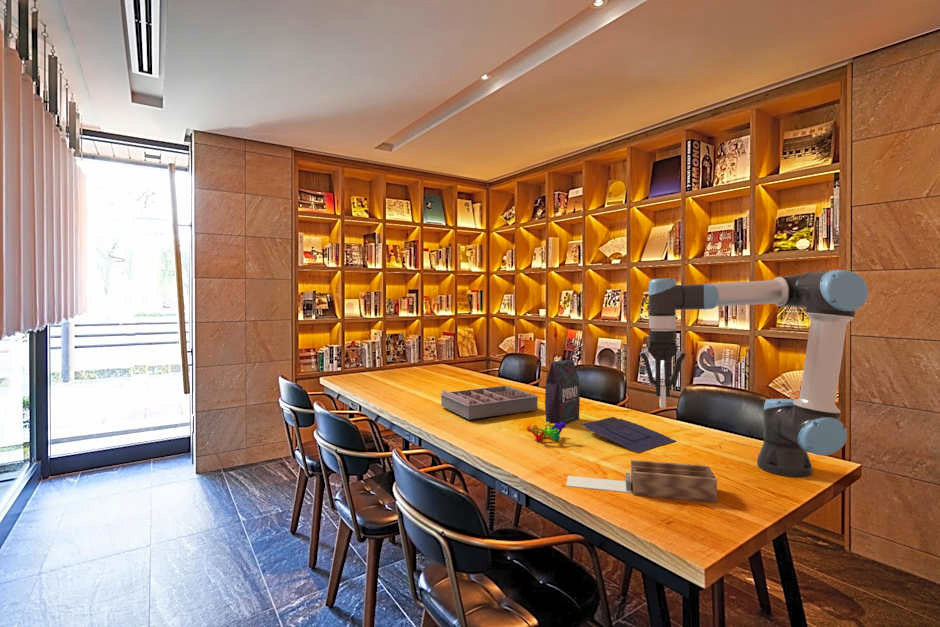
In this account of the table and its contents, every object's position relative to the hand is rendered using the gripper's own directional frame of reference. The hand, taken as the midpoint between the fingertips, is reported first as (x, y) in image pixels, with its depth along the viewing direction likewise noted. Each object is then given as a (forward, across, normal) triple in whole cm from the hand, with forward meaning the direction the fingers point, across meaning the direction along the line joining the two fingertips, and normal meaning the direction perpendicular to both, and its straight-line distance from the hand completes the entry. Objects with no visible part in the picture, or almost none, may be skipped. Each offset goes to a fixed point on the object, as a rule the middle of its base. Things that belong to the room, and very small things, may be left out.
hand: (662, 407), depth 145 cm
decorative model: (+24, +39, -35) cm, 58 cm away
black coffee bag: (+24, +35, -64) cm, 77 cm away
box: (+24, -2, +5) cm, 24 cm away
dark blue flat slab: (+24, +9, -46) cm, 53 cm away
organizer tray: (+24, +73, -79) cm, 110 cm away
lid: (+24, +19, +5) cm, 31 cm away
